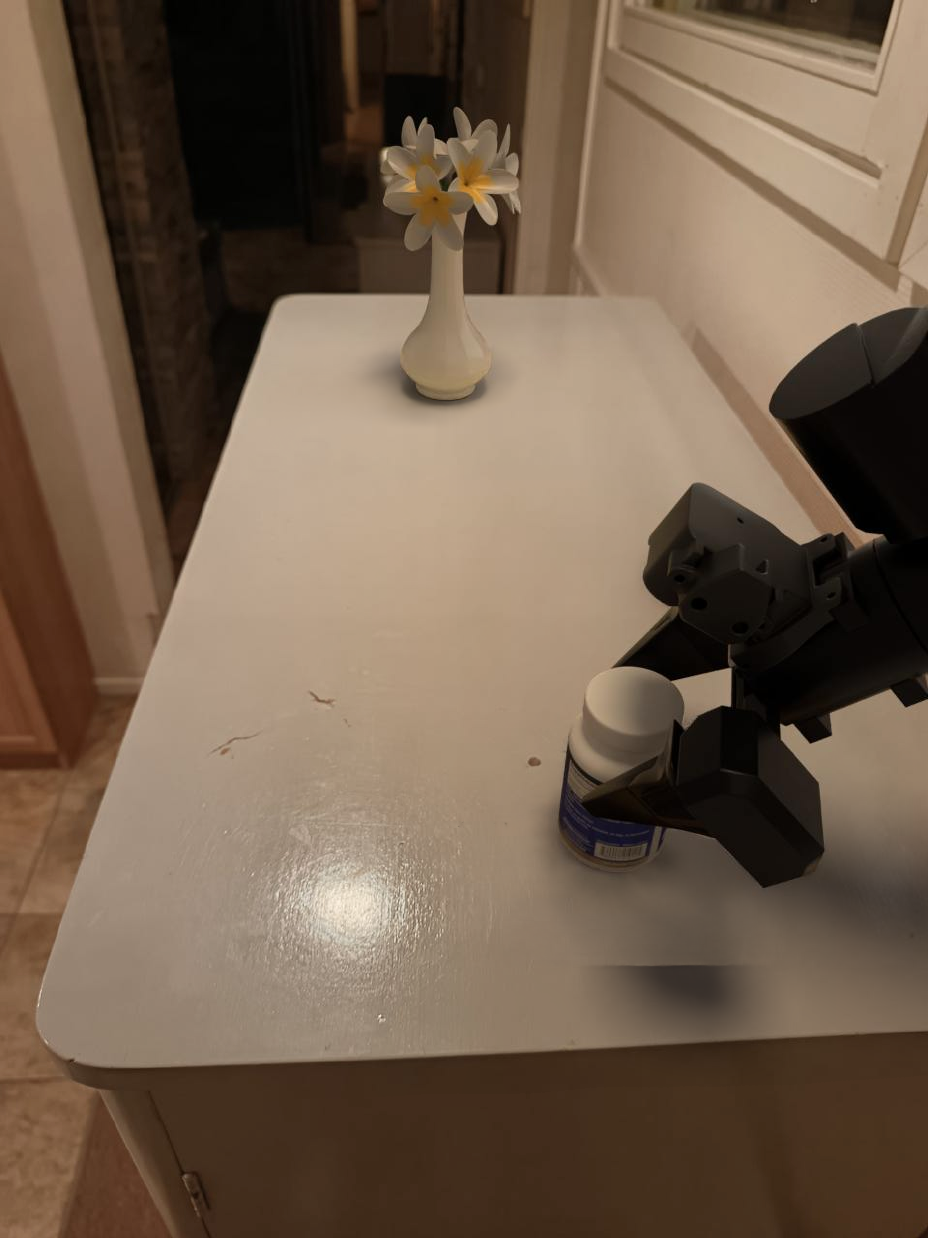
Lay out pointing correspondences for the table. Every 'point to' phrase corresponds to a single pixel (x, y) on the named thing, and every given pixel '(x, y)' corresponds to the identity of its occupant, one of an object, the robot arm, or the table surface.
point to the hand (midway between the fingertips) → (598, 741)
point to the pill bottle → (615, 763)
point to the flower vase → (447, 242)
